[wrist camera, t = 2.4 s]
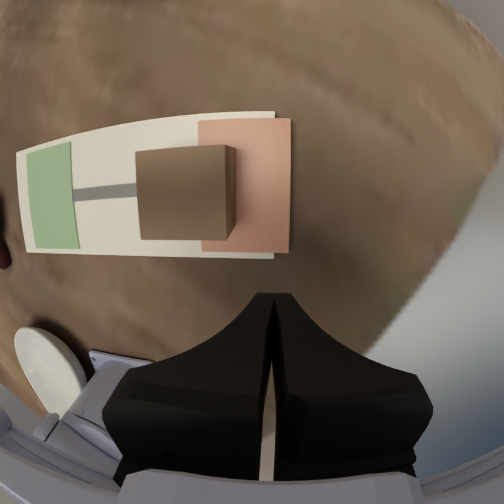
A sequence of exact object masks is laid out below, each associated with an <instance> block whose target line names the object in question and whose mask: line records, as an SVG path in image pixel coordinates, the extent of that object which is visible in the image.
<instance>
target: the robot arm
mask: <svg viewBox="0 0 504 504" xmlns="http://www.w3.org/2000/svg"><path fill="white" fill-rule="evenodd" d="M89 356H90V358H91V361H92V364H93V366H94V369H95V371H96V373H95V374H94V375H93V377H92V378H91V379H90V381H89V382H88V383H87V385H86V386H85V387H84V389H83V390H82V392H81V393H80V394H79V396H78V397H77V399H76V400H75V401H74V403H73V404H72V406H71V407H70V408H69V410H68V411H66V413H65V414H64V415H63V417H62V418H61V420H60V419H59V418H60V415H59V414H58V413H56V412H55V413H54V414H53V413H48V414H47V415H46V416H45V417H44V418H43V420H42V421H41V423H40V424H39V425H38V426H37V428H36V429H35V431H34V432H33V434H30V433H28V432H26V431H25V430H23V429H21V428H20V427H18V426H17V425H15V424H14V423H12V420H11V419H10V417H9V416H8V414H7V413H6V412H5V410H4V409H3V408H2V407H1V406H0V487H1V488H2V489H4V490H5V491H6V492H7V493H9V494H10V495H11V496H12V497H14V498H15V499H16V500H18V501H19V502H20V503H22V504H504V445H503V446H501V447H499V448H498V449H496V450H494V451H492V452H490V453H488V454H486V455H484V456H481V457H479V458H477V459H475V460H473V461H471V462H468V463H466V464H464V465H461V466H459V467H456V468H454V469H451V470H448V471H446V472H443V473H440V474H438V475H434V476H432V477H428V478H425V479H422V480H418V479H417V478H416V475H415V471H414V468H413V465H412V464H413V463H415V461H416V455H415V453H414V450H413V447H414V446H415V444H416V443H417V441H418V440H419V438H420V437H421V435H422V434H423V432H424V431H425V429H426V428H427V426H428V424H429V422H430V420H431V417H432V415H433V405H432V403H431V401H430V399H429V397H428V395H427V393H426V391H425V389H424V387H423V385H422V383H421V382H420V380H419V379H418V377H417V376H416V375H415V374H412V373H408V372H405V371H401V370H398V369H394V368H391V367H388V366H385V365H382V364H380V363H378V362H375V361H373V360H370V359H368V358H366V357H364V356H362V355H360V354H358V353H356V352H354V351H353V350H351V349H349V348H347V347H346V346H344V345H342V344H341V343H339V342H338V341H337V340H335V339H334V338H332V337H331V336H330V335H328V334H327V333H326V332H325V331H323V330H322V329H321V328H320V327H319V326H318V325H317V324H316V323H315V322H314V321H313V320H312V319H311V318H310V317H309V316H308V315H307V313H306V312H305V311H304V310H303V309H302V308H301V306H300V305H299V304H298V302H297V301H296V300H295V298H294V297H293V296H292V294H291V293H257V294H256V295H255V296H254V297H253V298H252V300H251V301H250V302H249V304H248V305H247V306H246V307H245V308H244V309H243V311H242V312H241V313H240V314H239V315H238V316H237V317H236V318H235V319H234V320H233V321H232V322H231V323H230V324H228V325H227V326H226V327H225V328H224V329H223V330H221V331H220V332H219V333H217V334H216V335H214V336H213V337H212V338H210V339H208V340H207V341H205V342H203V343H201V344H199V345H197V346H196V347H194V348H192V349H190V350H188V351H186V352H183V353H181V354H178V355H176V356H173V357H171V358H168V359H165V360H162V361H159V362H155V363H153V362H151V361H146V360H140V359H134V358H129V357H123V356H118V355H113V354H108V353H103V352H99V351H94V350H91V351H90V352H89ZM271 361H272V368H273V379H274V390H275V402H276V434H275V458H274V477H273V478H274V479H273V481H259V471H260V456H261V442H262V427H263V413H264V404H265V398H266V393H267V387H268V380H269V374H270V368H271Z"/></svg>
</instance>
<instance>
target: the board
mask: <svg viewBox="0 0 504 504" xmlns="http://www.w3.org/2000/svg"><path fill="white" fill-rule="evenodd" d="M224 144H225V145H228V146H231V147H233V148H235V163H236V226H235V227H234V229H233V231H232V233H231V234H230V236H229V238H228V239H227V241H209V240H141V236H140V226H139V215H138V203H137V187H136V166H135V152H136V151H145V150H154V149H164V148H175V147H187V146H203V145H224ZM16 159H17V182H18V195H19V205H20V213H21V221H22V227H23V234H24V239H25V245H26V250H27V252H33V253H62V254H94V255H129V256H166V257H208V258H254V259H274V253H289V225H290V170H291V122H290V118H275V111H248V112H222V113H206V114H194V115H183V116H174V117H166V118H158V119H151V120H144V121H138V122H132V123H126V124H121V125H116V126H111V127H106V128H101V129H96V130H92V131H88V132H84V133H79V134H75V135H72V136H68V137H64V138H61V139H57V140H54V141H50V142H47V143H44V144H40V145H37V146H34V147H31V148H28V149H25V150H22V151H19V152H17V153H16Z"/></svg>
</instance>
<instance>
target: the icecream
mask: <svg viewBox="0 0 504 504" xmlns="http://www.w3.org/2000/svg"><path fill="white" fill-rule="evenodd" d="M9 263H10V259H9V256H8V253H7V250H6V249H5V248H4V246H3V245H2V243H1V242H0V268H1V269H7V268H8V267H9Z"/></svg>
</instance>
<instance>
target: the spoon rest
mask: <svg viewBox="0 0 504 504" xmlns="http://www.w3.org/2000/svg"><path fill="white" fill-rule="evenodd" d="M15 350H16V353H17V357H18V360H19V362H20V365H21V367H22V369H23V371H24V373H25V375H26V377H27V379H28V380H29V382H30V384H31V385H32V387H33V389H34V390H35V392H36V394H37V395H38V397H39V398H40V400H41V401H42V403H43V405H44V406H45V408H46V409H47V411H48V413H53V414H54V413H55V412H56V413H58V414H59V415H60V418H59V419H60V420H61V418H62V417H63V415H64V414H65V413H66V411H68V410H69V408H70V407H71V406H72V404H73V403H74V401H75V400H76V399H77V397H78V396H79V394H80V393H81V392H82V390H83V389H84V387H85V386H86V385H87V379H86V375H85V372H84V370H83V368H82V365H81V364H80V362H79V360H78V359H77V357H76V356H75V354H74V353H73V352H72V351H71V349H70V348H69V347H68V346H67V345H66V344H65V343H64V342H63V341H62V340H60V339H59V338H58V337H56V336H55V335H53V334H51V333H50V332H48V331H45V330H43V329H40V328H35V327H22V328H20V329H19V330H18V331H17V332H16V335H15Z"/></svg>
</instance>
